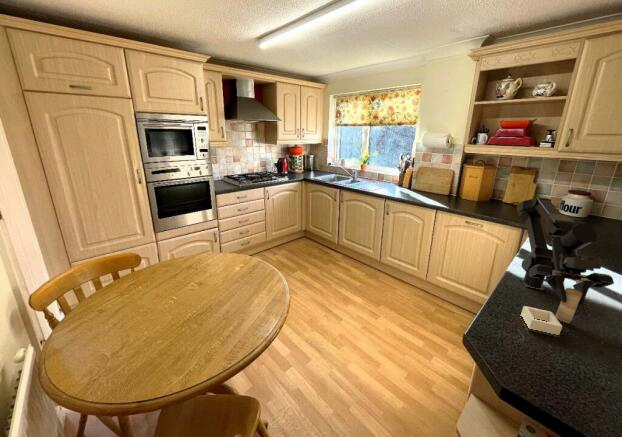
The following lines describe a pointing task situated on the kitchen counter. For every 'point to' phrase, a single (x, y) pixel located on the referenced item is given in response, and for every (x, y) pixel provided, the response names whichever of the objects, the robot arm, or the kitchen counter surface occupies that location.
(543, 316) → the cream square tray
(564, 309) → the wick dowel
